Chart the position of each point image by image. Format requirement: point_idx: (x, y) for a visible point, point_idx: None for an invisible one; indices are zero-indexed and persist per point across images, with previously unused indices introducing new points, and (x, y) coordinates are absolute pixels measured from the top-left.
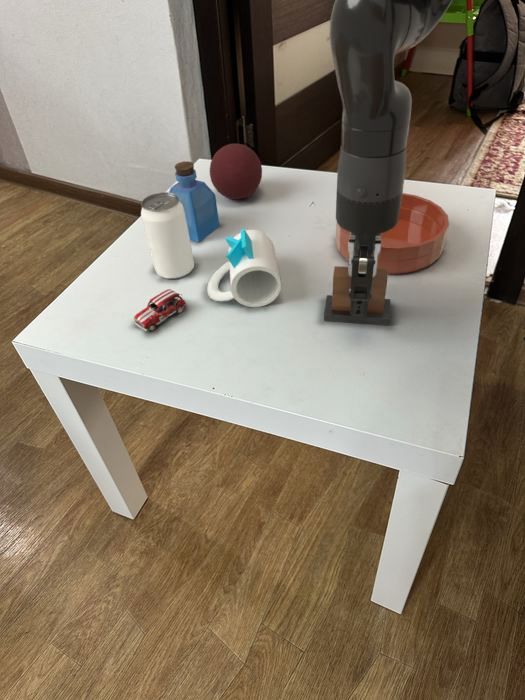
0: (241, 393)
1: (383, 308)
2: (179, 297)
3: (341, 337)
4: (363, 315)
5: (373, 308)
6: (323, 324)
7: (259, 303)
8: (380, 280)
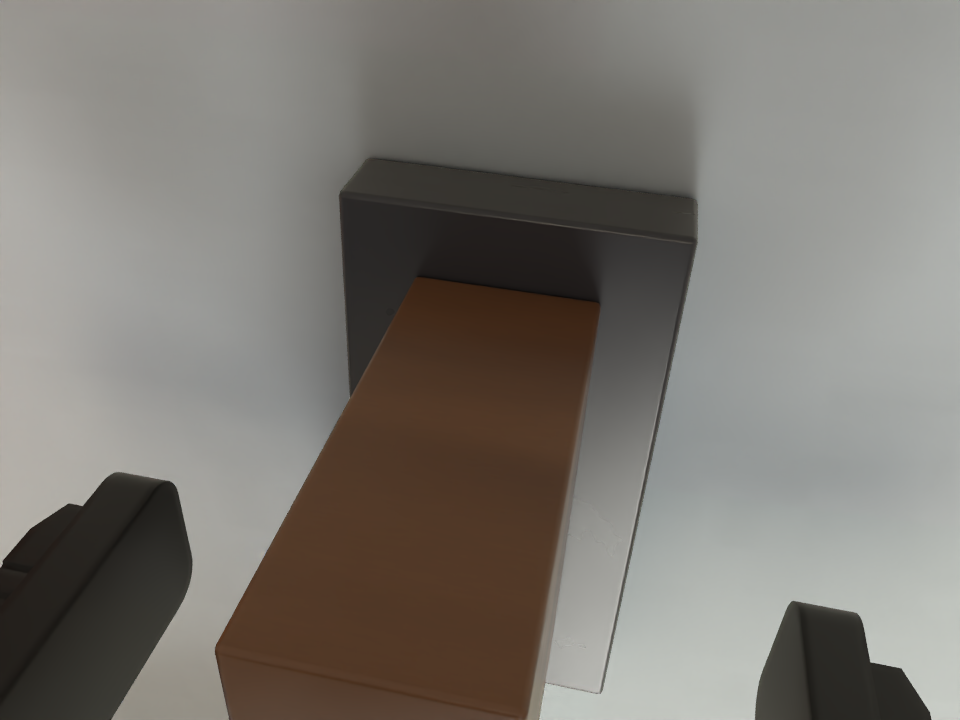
0: None
1: (593, 343)
2: None
3: (815, 571)
4: (918, 697)
5: (582, 425)
6: (645, 644)
7: None
8: None
